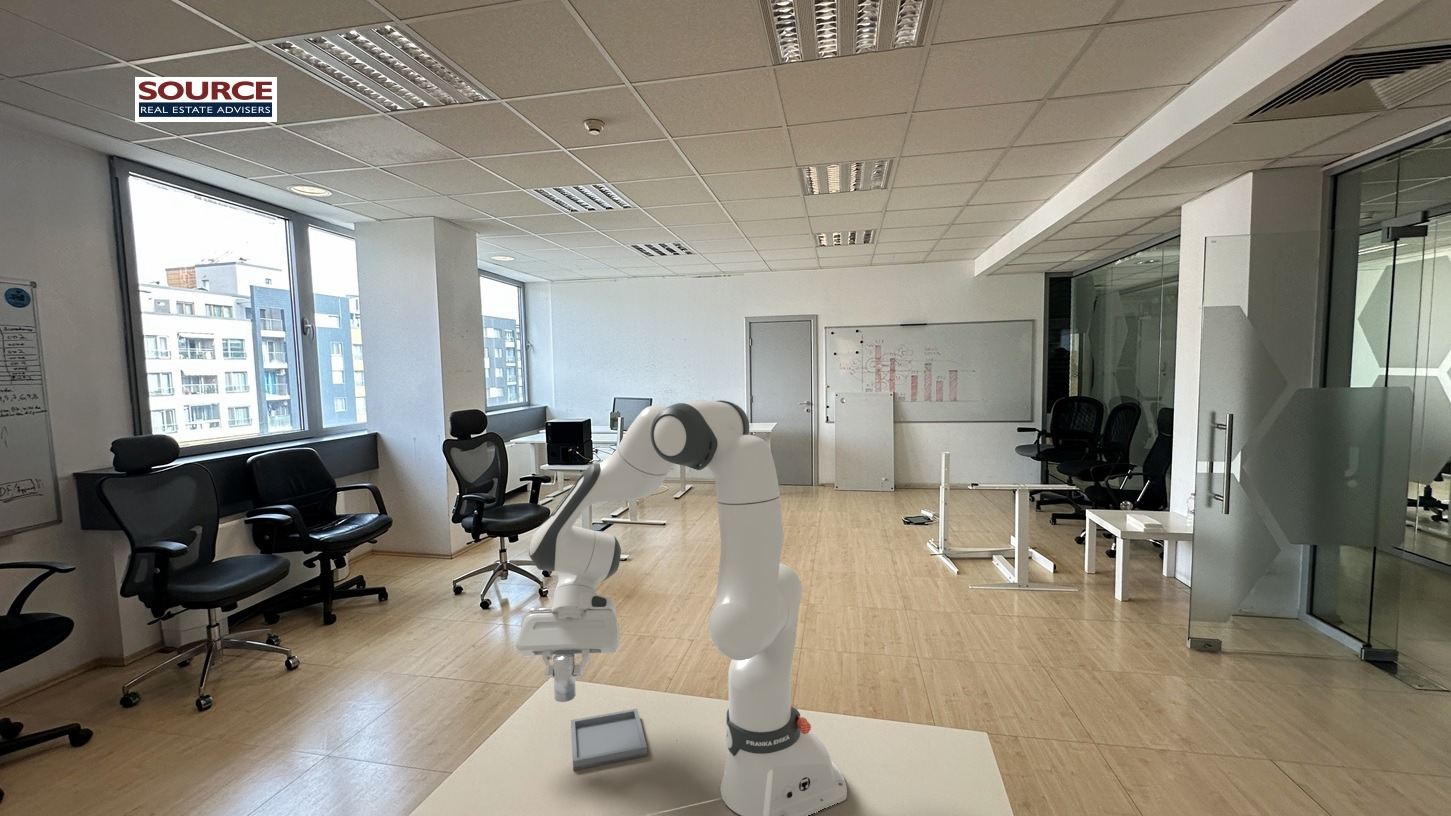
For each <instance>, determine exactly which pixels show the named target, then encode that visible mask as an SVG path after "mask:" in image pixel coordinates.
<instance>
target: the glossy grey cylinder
mask: <svg viewBox="0 0 1451 816" xmlns="http://www.w3.org/2000/svg"><path fill="white" fill-rule="evenodd" d="M575 659H576V658H575V654H574V653H572V652H561V653H558V654H556V655H553V656H552V660H553V665H552V666H553V667H554V677H553V686H554V688H553V689H554V700H555V701H556V702H558V703H565V702H569V701H572V700H573V699H575V697H576V696H577V690H576V689H577V688H576V676H574V674H573V673H574V670H575V669H574V665H576V662H575V661H576V660H575Z"/></svg>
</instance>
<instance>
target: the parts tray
mask: <svg viewBox="0 0 1451 816" xmlns="http://www.w3.org/2000/svg"><path fill="white" fill-rule="evenodd" d="M570 731H571V732H570V733H571V753H572V756H571V757H572V771H577V770H582V769H588V768H592V767H596V766H602V765H607V764H612V763H616V762H617V763H618V762H623V761H627V760H633V759H638V758H642V757H646V756H648V746H647V742H646V738H645V735H644V734H645V733H644V730H643V725H642V722H641V717H640V714H639V709H638V708H633V709H627V710H621V711H616V712H610V713H605V714H598V715H593V716H587V717H582V718H576V719H575V718H574V719H571V720H570Z"/></svg>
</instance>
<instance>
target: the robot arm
mask: <svg viewBox="0 0 1451 816" xmlns="http://www.w3.org/2000/svg"><path fill="white" fill-rule="evenodd" d="M773 457H774V456H773V453H772V451H771V447H770V445H769V444H768V443H767V441H766V440H765V439H763V438H761V437H758V436H757V435H753V434H750V421H749V418H748V416H747V413H746V412H745V411H744V410H743V409H742V407H740V406H739V405H738V404H736V403H733V402H730V401H727V400H721V399H720V400H715V401H714V400H704V399H699V400H692V401H688V402H684V403H682V402H679V403H673V404H672V405H669V406H664V405H660V404H659V405H658V404H656V405H655V404H653V405H650V406H646V407H645V408H643V409H642V410H641V412H640V413H638V415H637V416H636V417H635V419H634V420H633V421H632V423H631V424H630V426H628V429H627V430H626V431H625V433H624V436H623V437H622V439H621V441H620V443H619V444H618V446H617V448H616V450H615V451H613V453H612V454H611V455H609V456H607V458H605V459H604V460H603V461H601V462H599V463H598V462H597V463H593V464H590V465H589V466H588V467H587V468H586V469H585V470H584V471H583V472H582V473H581V475H580V476H579V477H578V478H577V480H576V481H575V482H574V483H573V485H572V486H571V487H570V488H569V490H568V491H567V492H566V494H565V495H564V496H563V498H562V499H561V501H560V502H559V503H558V505H557V506H555V509H554V510H553V511H552V512H551V514H550V515H549V516H548V517H547V518H545V520H544V521H543V522H542V523H541V524H540V525H539V526H538V528H537V529H536V531H535V532H534V533H533V536H532V537H531V541H530V544H529V550H528V556H529V558H530V560H531V561H532V563H533V564H534V566H535V567H536V568H537V569H538V571H545V572H546V571H547V572H557V580H558V581H557V584H556V586H555V588H554V593H553V599H552V606H551V607H542V608H536V607H533V608H530V610H527V611H526V612H524V613H523V615H522V617H521V621H520V627H521V628H520V630H519V633H518V635H517V636H518V637H517V640H516V643H515V644H516V645H515V648H516V650H517V652H518V653H519V654H520V655H521V656H523V657H524V656H526V657H527V656H528V657H529V656H530V657H531V656H542V659H543V662H544V663H545V666H546V669H545V677H546V678H554V667H553V665H551V663H550V661H552V660H553V656H555V655H556V654H558V653H561V652H572V653H574V655H579V654H581V657H582V658H581V660H580V661H579V663H578V664H575V665H574V669H575V670H574V673H573V674H574V676H575V677H583V673H584V668H585V667H586V666H587V664H588V662H589V661H590V659H591V654H608V653H609V654H610V653H612V654H613V653H616V652H617V650H618V649H619V648H620V629H619V628H620V626H619V623H618V620H617V617H616V616H617V607H616V605H615V602H614V601H613V599H612V598H610V597H606V596H603V595H600V594H597V584H598V583H603V582H604V581H607V579H610V577H612V576H614V575H615V574H616V573H617V571H618V569H619V567H620V561H621V554H622V548H621V545H620V542H619V540H618V538H617V537H616V536H615V535H613V534H610V533H608V532H602V531H599V530H594V529H589V528H584V527H582V526H581V527H580V526H576V525H575V524H576V522H577V520H578V519H579V518H580V517H581V515H582V514H583V513H584V512H585V510H586V509H587V508H588V507H590V506H593V505H594V504H597V503H601V502H602V503H603V502H612V501H636V500H641V499H644V498H647V497H649V496H651V495H653V494H654V493H655V492H656V491H657V490H659V488H660V487H661V486H662V484H663V482H664V481H665V479H666V477H668V473H669V472H670V470H671V469H672V466H673V464H675V465H678V466H684V467H688V468H690V469H692V470H696V471H701V470H703V469H705V468H708V470H710V471H711V474H713V475H712V476H714V481H715V489H716V502H717V513H718V523H719V525H718V526H719V537H720V555H719V566H718V567H719V568H718V576H717V583H716V584H717V586H716V595H715V599H714V603H713V607H712V609H711V613H710V615H709V620H708V627H707V628H708V634H709V637H710V640H711V642H712V644H713V646H714V647H715V649H716V650H717V651H718V652H719V653H720V654H721V655H723V656H724V657H727V659H731V660H730V664H729V666H728V672H727V673H728V674H727V675H728V709H727V711H726V718H725V719H726V720H725V721H726V722H725V723H726V724H725V740H726V743H725V744H726V746H727V751H726V752H727V754H726V761H725V767H724V772H723V776H722V780H721V783H720V796H721V799H722V800H723V802H724V804H725V805H726V806H727V807H728V809H731V810H732V811H733V812H734V813H735V814H737V815H740V816H807V815H811V814H813V813H815V812H817V811H820V810H821V809H824V808H826V809H828V808H827V807H829V806H831V807H833V806H835V805H837V803H838V804H839V803H842V802H844V801H846V800H847V798H848V787H847V784H846V780H845V778H844V775H843V774H842V771H841V770H840V769H839V767H838V766H837V765H836V763H835V762H834V761H833V760H832V759H831V756H830V753H829V751H828V750H827V748H826V746H825V745H824V743H823V741H822V740H821V739H820V738H819V737H818V735H816V734H815V733H814V732H812V731H811V730H812V725H811V723H809V721H808V719H807V718H805V717H803V716H802V717H801V713H800V712H799V710H798V709H797V708H795V707H793V705H792V693H791V691H792V682H791V681H792V665H793V658H794V657H793V656H794V652H795V646H796V645H795V644H796V638H797V630H798V628H797V627H798V618H799V610H800V604H801V600H802V595H803V586H802V582H801V579H800V577H799V575H798V574H797V573H796V571H795V570H794V569H792V568H791V567H790V566H789V565H786V564H784V563H781V555H782V552H783V551H782V549H783V546H784V540H785V537H784V526H783V525H784V524H783V516H782V515H783V514H782V504H781V496H780V495H781V494H780V488H779V487H780V486H779V480H778V474H777V469H776V465H775V461H774V458H773ZM834 804H835V805H834ZM832 805H833V806H832ZM829 808H830V807H829ZM824 810H825V809H824ZM820 812H821V811H820ZM817 813H818V812H817ZM815 814H816V813H815ZM813 815H814V814H813ZM811 816H812V815H811Z"/></svg>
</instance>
